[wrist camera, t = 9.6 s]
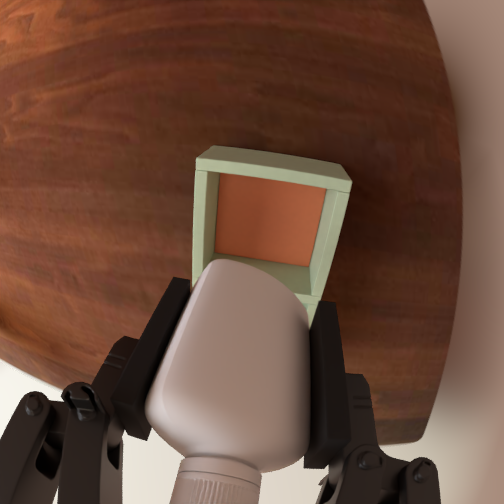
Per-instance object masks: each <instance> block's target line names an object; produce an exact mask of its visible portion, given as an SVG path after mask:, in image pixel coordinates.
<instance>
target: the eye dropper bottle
mask: <svg viewBox="0 0 504 504" xmlns="http://www.w3.org/2000/svg"><path fill="white" fill-rule="evenodd" d="M145 415H146V418H147V420H148V422H149V424H150V425H151V426H152V428H153V429H154V430H155V431H156V433H157V434H158V435H159V436H160V437H161V438H162V439H164V441H166V442H167V443H168V444H169V445H170V446H171V447H173V448H174V449H175V450H177V451H178V452H179V453H180V454H181V455H183V456H184V457H185V459H183V460H182V461H181V463H180V467H179V470H178V474H177V478H176V481H175V485H174V489H173V493H172V497H171V500H170V504H258V501H259V494H260V486H261V477H262V476H261V473H266V472H272V471H276V470H279V469H282V468H285V467H287V466H290V465H292V464H294V463H295V462H297V461H298V460H299V459H301V458H302V457H303V456H304V455H305V453H306V452H307V450H308V447H309V442H310V424H311V371H310V336H309V318H308V313H307V311H306V309H305V307H304V306H303V304H302V303H301V302H300V300H299V299H298V298H297V297H296V296H295V295H294V293H293V292H292V291H291V290H289V289H288V288H287V287H286V286H285V285H284V284H283V283H281V282H280V281H279V280H277V279H276V278H274V277H273V276H271V275H269V274H267V273H266V272H264V271H262V270H259V269H257V268H255V267H252V266H250V265H247V264H244V263H241V262H237V261H233V260H228V259H216V260H214V261H212V262H211V263H209V264H208V266H207V267H206V268H205V269H204V271H203V272H202V274H201V275H200V277H199V278H198V279H197V281H196V283H195V284H194V286H193V288H192V291H191V293H190V295H189V297H188V299H187V302H186V304H185V306H184V308H183V310H182V313H181V315H180V317H179V319H178V322H177V324H176V326H175V328H174V331H173V333H172V335H171V338H170V340H169V342H168V345H167V347H166V349H165V352H164V354H163V356H162V359H161V361H160V364H159V366H158V368H157V371H156V373H155V376H154V378H153V381H152V384H151V386H150V389H149V391H148V394H147V397H146V401H145Z"/></svg>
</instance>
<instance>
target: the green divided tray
mask: <svg viewBox="0 0 504 504" xmlns="http://www.w3.org/2000/svg"><path fill="white" fill-rule="evenodd" d="M351 186H352V180H351V179H350V178H349V176H348V175H347V173H346V172H345V170H344V169H343V167H342V166H341V165H340V164H336V163H331V162H326V161H321V160H315V159H310V158H304V157H298V156H292V155H286V154H279V153H272V152H265V151H258V150H251V149H243V148H234V147H225V146H215V145H214V146H212V147H211V148H210V149H208V150H207V151H205V152H204V153H203V154H201V155H200V156H199V157H197V158H196V171H195V191H194V218H193V271H192V276H193V277H192V285H193V286H194V284H195V283H196V281H197V279H198V278H199V277H200V275H201V274H202V272H203V271H204V269H205V268H206V267H207V266H208V264H209V263H211V262H212V261H214V260H216V259H228V260H233V261H237V262H241V263H244V264H247V265H250V266H252V267H255V268H257V269H259V270H262V271H264V272H266V273H267V274H269V275H271V276H273V277H274V278H276V279H277V280H279V281H280V282H281V283H283V284H284V285H285V286H286V287H287V288H288V289H289V290H291V291H292V292H293V293H294V295H295V296H296V297H297V298H298V299H299V300H300V302H301V303H302V304H303V306H304V307H305V309H306V311H307V313H308V318H309V330H310V327H311V324H312V320H313V317H314V314H315V311H316V308H317V305H318V301H319V300H321V297H322V294H323V291H324V287H325V284H326V281H327V277H328V274H329V271H330V267H331V264H332V260H333V257H334V253H335V249H336V246H337V242H338V238H339V235H340V231H341V227H342V223H343V219H344V215H345V211H346V207H347V203H348V199H349V195H350V194H349V193H350V190H351ZM193 286H192V287H193Z"/></svg>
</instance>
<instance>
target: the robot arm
mask: <svg viewBox="0 0 504 504" xmlns="http://www.w3.org/2000/svg"><path fill="white" fill-rule="evenodd" d="M189 295H190V280H188V279H182V278H177V277H173V279H172V281H171V282H170V284H169V286H168V288H167V290H166V291H165V293H164V295H163V297H162V298H161V300H160V302H159V304H158V306H157V308H156V309H155V311H154V313H153V315H152V317H151V319H150V320H149V322H148V324H147V326H146V328H145V330H144V332H143V333H142V335H141V337H140V339H139V340H138V339H134V338H131V337H127V336H123V337H122V338H121V339H120V340H118V341H117V342H116V343H115V344H114V345H113V347H112V349H111V350H110V352H109V355H108V356H107V357H106V359H105V361H104V364H102V366H101V368H100V370H99V372H98V373H97V375H96V377H95V379H94V381H93V382H92V384H91V385H90V384H88V383H84V382H75V383H73V384H70V385H68V386H67V387H66V388H65V389H64V390H63V392H62V394H61V397H62V399H63V400H64V402H61V401H51V400H49V399H48V398H47V396H45V395H44V394H43V393H42V392H37V391H33V392H29V393H27V394H26V395H24V397H23V398H22V399H21V400H20V402H19V404H18V406H17V408H16V410H15V412H14V413H13V415H12V417H11V419H10V421H9V423H8V425H7V427H6V429H5V431H4V433H3V435H2V437H1V439H0V504H52V503H53V500H54V497H55V494H56V491H57V488H58V502H57V504H122V467H123V464H122V463H123V440H122V435H123V433H124V430H126V432H127V434H128V435H130V436H133V437H136V438H139V439H142V440H145V441H147V439H148V437H149V434H150V431H151V428H152V426H151V425H150V424H149V422H148V420H147V418H146V415H145V401H146V397H147V394H148V391H149V389H150V386H151V384H152V381H153V378H154V376H155V373H156V371H157V368H158V366H159V364H160V361H161V359H162V356H163V354H164V352H165V349H166V347H167V345H168V342H169V340H170V338H171V335H172V333H173V331H174V328H175V326H176V324H177V322H178V319H179V317H180V315H181V313H182V310H183V308H184V306H185V304H186V302H187V299H188V297H189ZM309 336H310V371H311V424H310V442H309V447H308V450H307V452H306V453H305V455H304V468H309V469H324V468H325V467H326V466H327V465H328V464H329V474H328V475H326V476H325V477H324V478H323V479H322V480H321V481H320V483H319V485H322V484H323V485H322V488H321V491H320V493H319V496H318V499H317V502H316V504H441V499H440V488H439V480H438V471H437V468H436V465H435V464H434V463H433V462H432V460H430V459H428V458H424V457H419V458H416V459H414V460H413V461H411V462H408V461H404V460H400V459H396V458H392V457H390V456H388V455H386V454H385V453H384V452H383V451H382V450H381V449H380V447H379V445H378V442H377V437H376V429H375V421H374V414H373V408H372V401H371V399H370V398H371V395H370V388H369V384H368V383H367V381H366V379H365V378H364V376H363V375H362V374H349V373H345V366H344V358H343V351H342V343H341V336H340V329H339V322H338V316H337V310H336V303H334V302H327V301H320V300H319V301H318V305H317V308H316V311H315V314H314V317H313V320H312V324H311V327H310V330H309ZM58 486H59V487H58Z"/></svg>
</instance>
